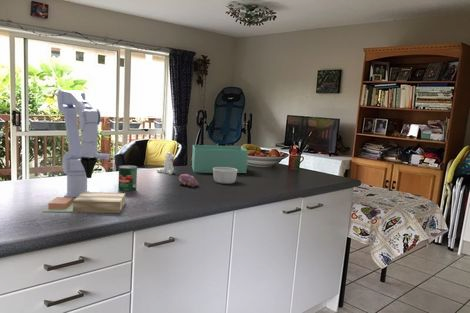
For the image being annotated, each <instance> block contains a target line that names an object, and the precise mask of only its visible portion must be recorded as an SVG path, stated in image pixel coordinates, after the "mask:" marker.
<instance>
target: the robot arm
mask: <svg viewBox="0 0 470 313" xmlns="http://www.w3.org/2000/svg"><path fill="white" fill-rule="evenodd" d="M56 97H57V98H56V99H57V101H56V102H57V108H58V111H59V112H61V113H62V115H63V118H64V124H65V132H66V138H67V140H66V141H67V148H68V151H67V152H66V153H64V154H63V156H62V163H61V164H62V171H63V173H64V174H65V175H66V194H64V195H63V197H70V198H77V197H78V196H79V195H80V194H81V193H82V192H90V191H89V190H88V179H91V178H92V177H93V173H94V168H95V166H96V164H97V162H98V160H107V161H108V160H110V159H111V158H110V156H111V154H110V153H101V152H98V141H99V139H98V136H99V135H98V132H99V131H98V129H99V125H100V123H101V112H100V110H99V109H98V108H96V109H95V108H93V107H92V106H91V104H90V102H88V100H86V94H85V92H84V90H72V89H71V90H70V89H69V90H68V89H62V88H60V89H59V90H58V91H57V96H56ZM77 115H78V117H77ZM78 121H79V125H78ZM79 129H80V131H81V134H80V132H79ZM80 136H81V137H80Z"/></svg>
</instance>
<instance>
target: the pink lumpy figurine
mask: <svg viewBox="0 0 470 313" xmlns="http://www.w3.org/2000/svg"><path fill="white" fill-rule="evenodd" d="M177 179H178V181H179V182H180V183H181V184H182V185H184V186H186V185H187V186H189V187H191V186H192V185H193V186H194V187H199V185H200V184H199V181H198V180H197V179H196V177H195V176H193V175H191V174H187V173H184V174H183V173H182V174H179V176H178V177H177Z"/></svg>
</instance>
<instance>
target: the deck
mask: <svg viewBox="0 0 470 313" xmlns="http://www.w3.org/2000/svg"><path fill="white" fill-rule="evenodd" d="M125 205H126V193H123V192H104V191H102V192H101V191H100V192H96V191H95V192H93V191H92V192H90V191H89V192H82V193H81V194H80V195H79V196H78V197H75V198H74V199H73V212H72V213H101V214H102V213H103V214H106V213H107V214H108V213H109V214H112V213H115V214H120V213H121V212H122V209H123V208H124V206H125Z"/></svg>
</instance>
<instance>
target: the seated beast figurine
mask: <svg viewBox="0 0 470 313" xmlns="http://www.w3.org/2000/svg"><path fill="white" fill-rule="evenodd" d="M175 157H176V155H175V154H173V153H172V152H169V151H168V152H167V153H166V154H165V156H164V159H165V160H164V162H163V165H164V167H160V168H158V169H156V172H157V174H167V175H172V174H173V173H174V170H175V168H174V165H173V161H172V160H173V159H174V158H175Z"/></svg>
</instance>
